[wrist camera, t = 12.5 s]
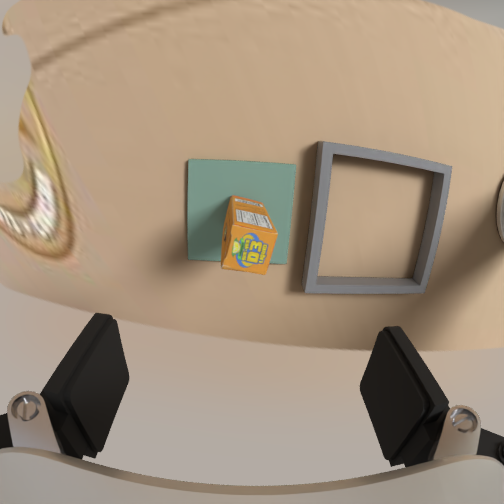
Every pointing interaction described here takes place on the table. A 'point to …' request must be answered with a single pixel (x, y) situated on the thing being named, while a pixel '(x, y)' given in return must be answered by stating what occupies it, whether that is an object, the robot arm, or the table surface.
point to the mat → (243, 185)
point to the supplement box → (247, 236)
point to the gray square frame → (318, 217)
